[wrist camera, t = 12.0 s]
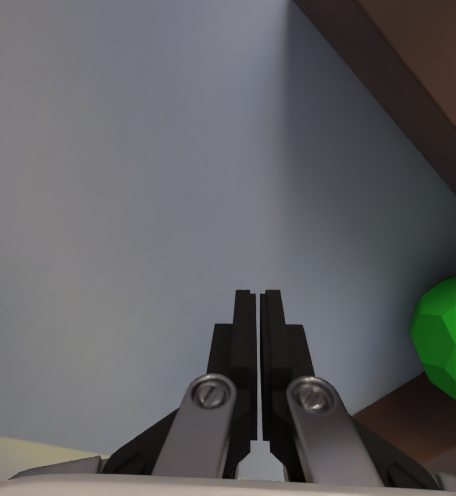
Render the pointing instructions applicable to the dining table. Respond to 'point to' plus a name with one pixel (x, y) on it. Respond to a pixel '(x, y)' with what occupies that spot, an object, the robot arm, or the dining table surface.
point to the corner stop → (430, 146)
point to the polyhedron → (437, 334)
